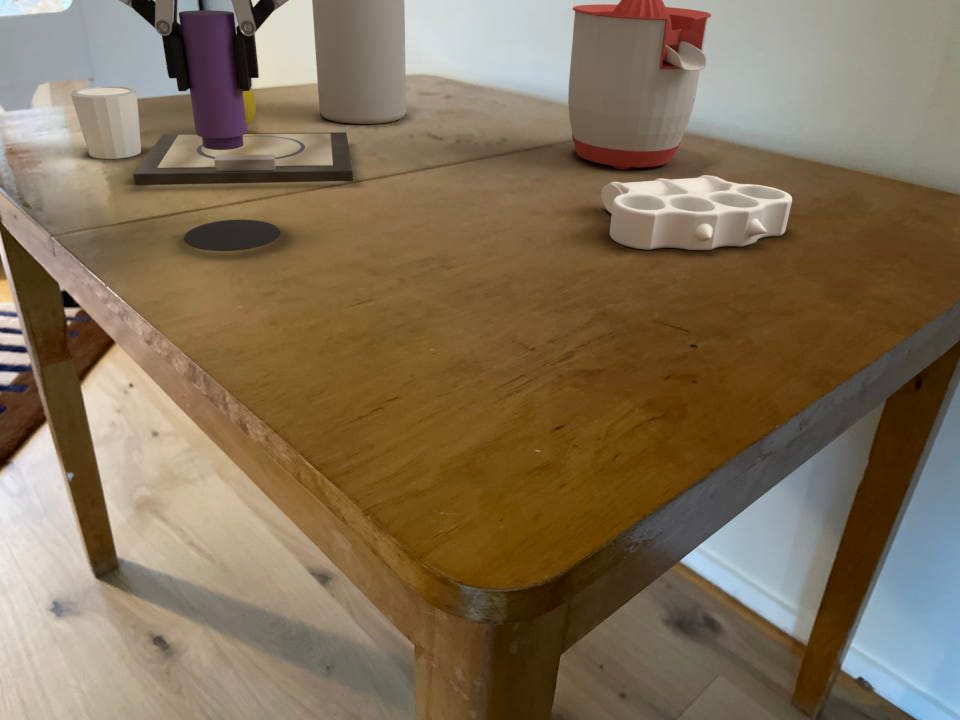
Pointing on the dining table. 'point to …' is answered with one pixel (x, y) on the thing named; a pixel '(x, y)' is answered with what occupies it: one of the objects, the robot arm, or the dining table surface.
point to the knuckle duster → (694, 213)
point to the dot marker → (214, 78)
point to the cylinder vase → (360, 60)
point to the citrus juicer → (633, 80)
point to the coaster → (232, 235)
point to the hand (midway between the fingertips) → (215, 85)
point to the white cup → (109, 121)
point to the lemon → (249, 106)
